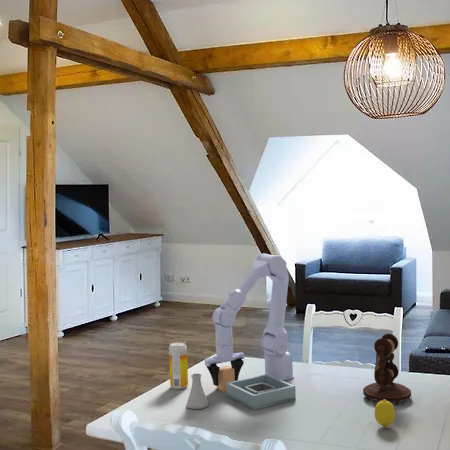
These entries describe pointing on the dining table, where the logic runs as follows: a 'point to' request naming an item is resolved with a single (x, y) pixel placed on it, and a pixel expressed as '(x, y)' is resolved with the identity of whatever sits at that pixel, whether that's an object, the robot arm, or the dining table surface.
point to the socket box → (260, 391)
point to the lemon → (384, 413)
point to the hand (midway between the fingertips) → (225, 383)
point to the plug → (225, 377)
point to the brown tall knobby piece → (386, 373)
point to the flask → (197, 394)
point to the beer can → (178, 365)
